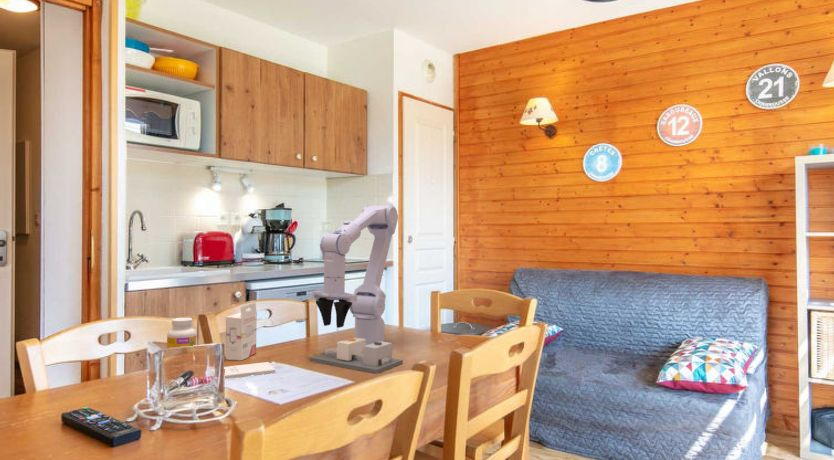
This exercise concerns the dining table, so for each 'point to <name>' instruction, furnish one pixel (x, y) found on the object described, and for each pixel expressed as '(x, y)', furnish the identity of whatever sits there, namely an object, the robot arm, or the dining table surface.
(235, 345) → the ink cartridge box
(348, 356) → the din module
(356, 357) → the din rail
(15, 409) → the dining table surface
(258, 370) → the external hard drive
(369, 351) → the module
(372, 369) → the mounting board
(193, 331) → the supplement bottle
